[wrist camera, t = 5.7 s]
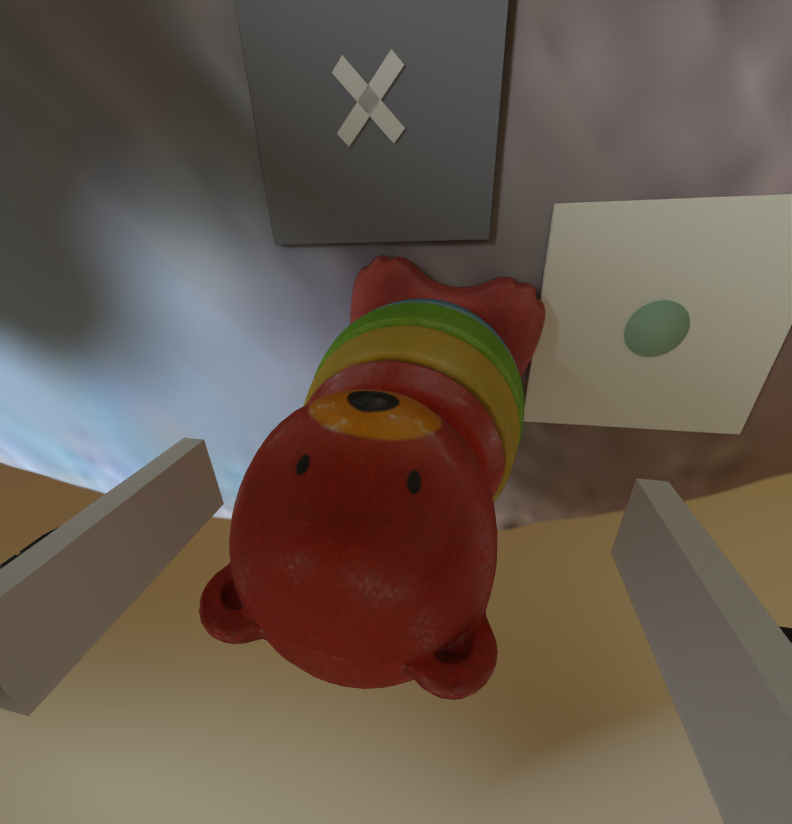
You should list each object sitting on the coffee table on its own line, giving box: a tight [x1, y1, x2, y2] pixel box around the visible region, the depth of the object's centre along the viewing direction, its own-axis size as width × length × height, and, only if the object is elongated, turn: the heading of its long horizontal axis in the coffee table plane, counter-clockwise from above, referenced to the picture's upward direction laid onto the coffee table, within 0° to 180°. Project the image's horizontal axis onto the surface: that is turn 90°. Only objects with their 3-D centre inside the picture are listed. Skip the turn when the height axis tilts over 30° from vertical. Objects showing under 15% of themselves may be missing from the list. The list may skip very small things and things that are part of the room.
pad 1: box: [235, 0, 508, 245], centre depth 17 cm, size 12×12×1 cm
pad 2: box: [524, 194, 792, 435], centre depth 19 cm, size 12×12×1 cm
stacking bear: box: [199, 255, 545, 700], centre depth 14 cm, size 11×10×18 cm
